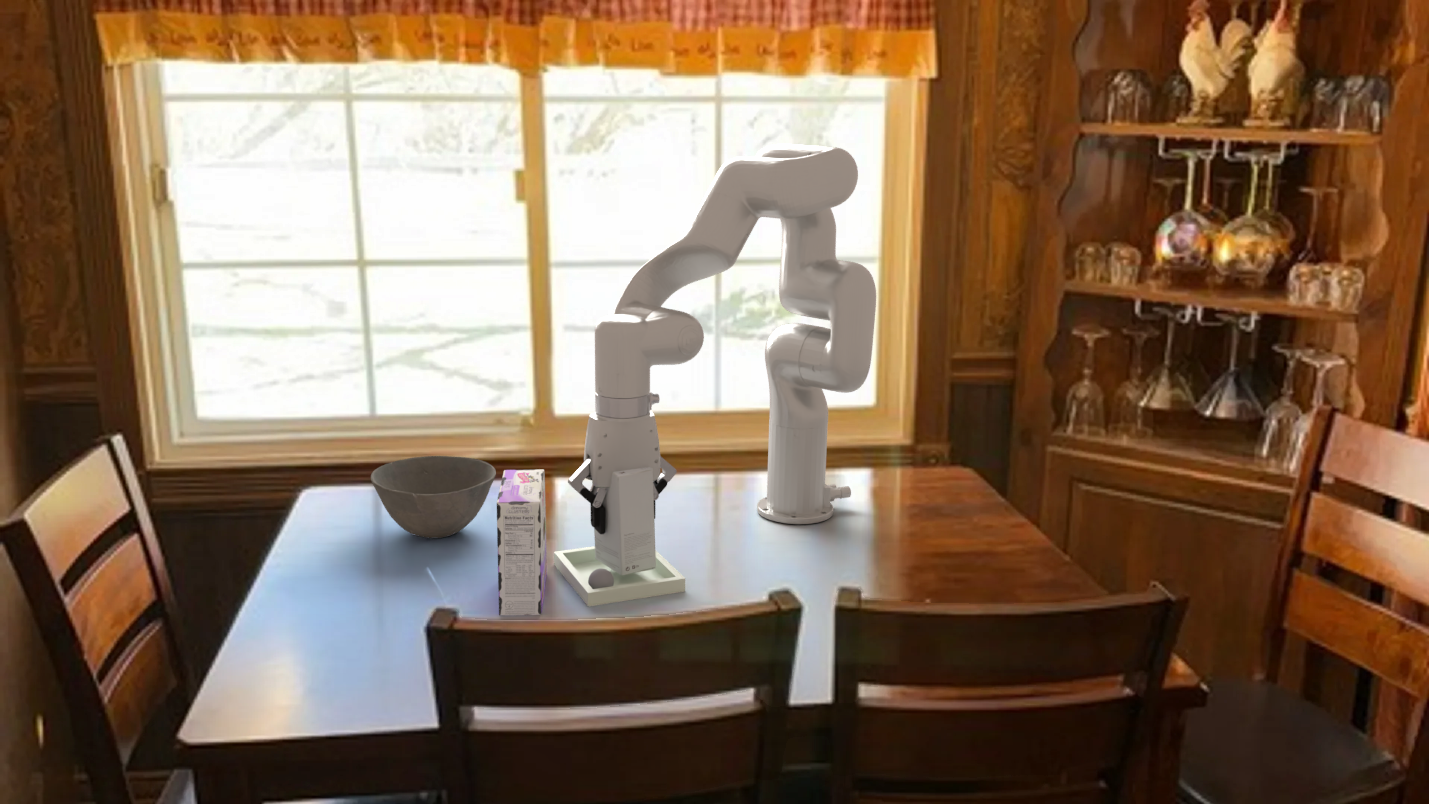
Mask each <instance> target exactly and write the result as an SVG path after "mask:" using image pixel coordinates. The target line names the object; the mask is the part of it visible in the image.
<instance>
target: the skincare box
mask: <svg viewBox="0 0 1429 804" xmlns="http://www.w3.org/2000/svg"><path fill="white" fill-rule="evenodd" d="M591 482H592V481H591ZM591 484H593V482H592V483H591ZM602 505H603V506H604V507H605V533H604V534H599V533H598V532H597V531H596V529H595V528H594V527H593V529H594V530H593V533H594V546H595V559H596V560H598V561H600V562H601V563H603V564H604V565H606V566H608V567H609V568H611V569H612V570H614V571H615V572H617V573H619V574H620V575H627V574H631V573H636V572H642V571H647V570H652V569H655V567H656V553H655V550H656V533H655V532H656V531H655V530H656V529H655V527H656V526H655V519H654V496H653V469H652V468H650V467H644V468H638V469H630V470H623V471H616V472H613V473H612V479H611V487H610V488H608V490H607V492H606V494H605V497H604V499H603V502H602Z"/></svg>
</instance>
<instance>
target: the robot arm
mask: <svg viewBox="0 0 1429 804" xmlns="http://www.w3.org/2000/svg"><path fill="white" fill-rule="evenodd" d="M858 179H859V171H858V166H857V162H856V161H855V158H854V157H853V156H852V154H851V153H850V152H848V151H847V150H845V149H844V148H841V147H836V146H835V147H834V146H825V145H823V146H822V145H805V144H795V143H794V144H793V143H776V144H771V145H770V144H769V145H767V146H765V147H763V148H761V149H760V150H758V151H757V153H756V154H755V156H745V155H744V156H735V157H733V158H730V159H728V160H727V161H725V162H724V163H723V164H722V165H721V166H720V168H719V169H718V170H717V172H716V174H715V176H714V178H713V180H712V182H711V184H710V185H709V187H708V189H707V191H706V192H705V194H704V196H703V198H702V199H701V201H700V203H699V205H698V207H697V209H696V211H695V212H694V214H693V216H692V218H691V219H690V221H689V224H688V225H687V227H686V229H685V231H683V233H682V235H681V236H680V237H679V238H678V239H677V240H675V241H674V242H673V243H670V244H669V245H667V246H666V247H664V248H663V249H662V250H661V251H660V252H658V253H657V254H655V256H653V257H651V258H650V259H649V260H648V261H647V262H646V263H644V264H643V265H642V266H641V267H640V268H639V269H638V270H637V271H636V272H635V273H634V275H632V277H631V278H630V280H629V281H628V283H627V284H626V286H625V288H624V289H623V291H622V293H621V295H620V296H619V299H618V301H617V302H616V304H615V307H614V309H613V311H612V313H611V314H609V315H608V314H607V315H605V316H602V317H600V318H599V319H597V322H596V323H595V327H594V382H595V383H594V386H595V387H594V391H595V393H594V394H595V399H594V400H595V401H594V403H595V404H594V405H595V408H594V409H595V412H593V413H590V414H589V417H588V421H587V425H586V434H585V441H584V443H585V444H584V452H583V453H584V455H583V463H582V464H581V466H579V468H578V469H576V471H575V472H574V473H573V474H572V475H571V476H570V477H569V478H568V480H567V483H568V485H569V486H570V487H571V488H573V490H575V491H576V493H578V494H579V495H580V496H581V497H582V498H584V500H586V501H587V502H588V503H590V504H589V505H590V525H591V527H592V528H593V529H594V528H595V529H596V531H597V532H598V533H599V534H604V533H605V507H604V506H603V505H602V502H603V499H604V497H605V494H606V492H607V490H608V488H610V487H611V479H612V473H613V472H616V471H623V470H630V469H638V468H644V467H650V468H652V469H653V496H654V520H655V519H656V501H657V500H658V499H659V497H660V494H661V493H662V492H663V490H664V489H666V488H667V486H668V484H669V483H670V481H672V479H673V478H674V476H675V475H677V468H675V467H674V466H673V465H672V464H671V463H669V462H668V461H667V460H666V459H664V458H663V457H662V456H661V450H660V440H659V439H660V438H659V432H658V425H657V421H656V417H655V413H654V412H653V411H652V406H653V405H655V404H659V403H660V395H659V393H653V392H651V368H652V366H665V365H666V366H667V365H668V366H673V365H675V366H676V365H682V364H684V363H687V362H689V361H691V360H692V359H694V358H695V357H696V356H697V355H698V354H699V353H700V351H701V349H702V347H703V345H704V339H705V336H704V335H705V334H704V333H705V332H704V330H703V327H702V325H701V323H700V322H699V320H698V319H697V318H696V317H695V316H693V315H692V314H690V313H687V312H685V311H681V310H679V309H671V308H667V307H662V306H663V305H664V303H665V302H666V301H667V300H668V299H669V298H670V297H671V296H673V294H675V293H676V292H677V291H679V290H680V289H682V288H684V287H686V286H688V285H691V284H692V283H696V282H698V281H701V280H704V279H708V278H711V277H713V276H716V275H719V274H721V273H723V272H725V271H728V270H730V269H731V268H732V267H733V266H734V264H735V263H736V262H737V259H738V258H739V257H740V254H741V252H742V250H743V248H744V247H745V244H746V243H747V242H748V241H747V240H748V239H749V237H750V235H751V234H752V232H753V230H754V228H755V226H756V224H757V222H758V221H759V219H760V218H770V219H778V220H779V219H780V222H781V252H780V253H781V254H780V266H779V280H778V281H779V282H778V286H779V287H778V296H779V302H780V304H781V306H782V307H783V308H784V309H785V310H786V311H788V313H791V314H795V315H798V316H803V317H807V318H813V319H818V320H823V321H829V322H830V328H828V327H827V328H826V327H824V326H818V325H813V324H806V323H799V322H791V323H785V324H782V325H779V326H778V327H776V328H775V329H774V330H772V331H771V333H770V334H769V336H768V338H767V341H766V343H765V348H764V361H765V367H766V373H767V379H768V387H769V390H768V391H769V416H768V417H769V420H768V421H769V422H768V451H767V452H768V453H767V455H768V456H767V479H766V480H767V482H766V483H767V485H766V496H765V497H763V498H762V499H760V500H758V502H757V505H756V506H757V507H756V509H757V510H756V511H757V513H758V514H759V515H760V516H762V518H765V519H767V520H769V521H772V522H777V523H781V524H790V525H808V524H809V525H811V524H816V523H821V522H824V521H826V520H829V519H830V518H831V517H832V516H834V505H833V504H832V503H833V502H835V500H837V499H839V500H841V499H847V498H851V496H852V490H851V488H850V486H848V485H847V486H839V487H837V485H836V484H835V483H833V484H826V472H827V470H826V469H827V448H828V424H829V408H828V402H827V399H826V396H825V393H824V390H827V391H831V392H835V393H836V392H838V393H844V394H845V393H853V392H855V391H857V390H859V389H860V388H862V386H863V385H864V383H865V382H866V380H867V377H868V375H869V372H870V367H871V365H872V364H871V363H872V362H871V361H872V355H873V345H874V344H873V343H874V334H875V322H876V321H875V320H876V311H877V310H876V307H877V288H876V284H875V281H874V277H873V275H872V274H871V271H869V269H868V268H867V267H866V266H864V265H863V264H860V263H858V262H854V261H851V260H850V261H849V260H843V259H837V257H836V255H837V254H836V250H837V248H836V247H837V246H836V245H837V244H836V243H837V241H836V240H837V239H836V238H837V224H836V220H835V216H834V213H833V210H832V208H834V207H837V206H840V205H842V204H843V203H845V202H846V201H847V200H848V199H849V198H850V197H851V196H852V195H853V193H854V191H855V190H856V186H857V184H858ZM661 471H662V472H661ZM585 479H586V480H589V481H591V482H593V484H592V483H591V484H592V485H591V487H590V489H588V488H587V487H586V486H585V485H584V484H583V482H584V481H585Z"/></svg>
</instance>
